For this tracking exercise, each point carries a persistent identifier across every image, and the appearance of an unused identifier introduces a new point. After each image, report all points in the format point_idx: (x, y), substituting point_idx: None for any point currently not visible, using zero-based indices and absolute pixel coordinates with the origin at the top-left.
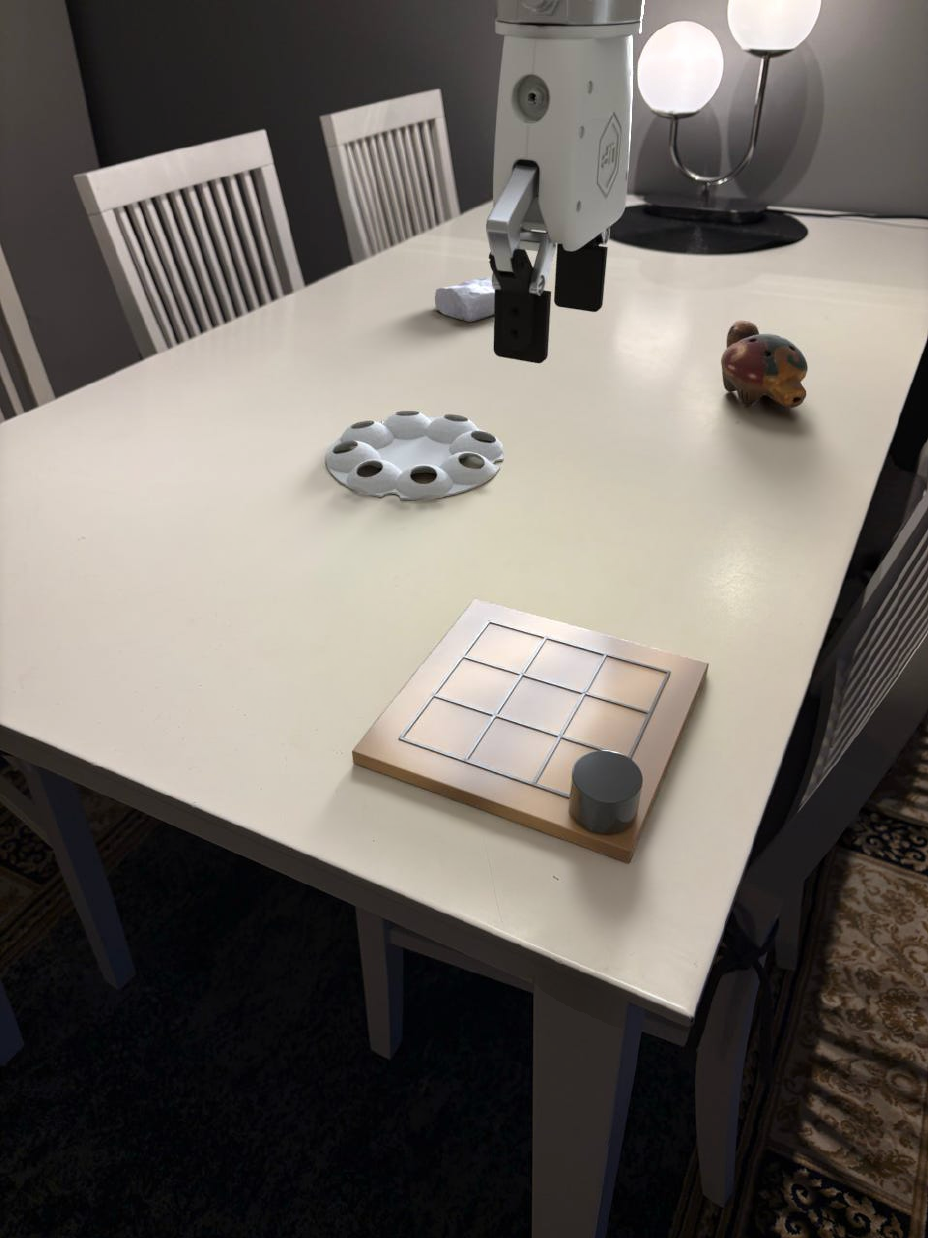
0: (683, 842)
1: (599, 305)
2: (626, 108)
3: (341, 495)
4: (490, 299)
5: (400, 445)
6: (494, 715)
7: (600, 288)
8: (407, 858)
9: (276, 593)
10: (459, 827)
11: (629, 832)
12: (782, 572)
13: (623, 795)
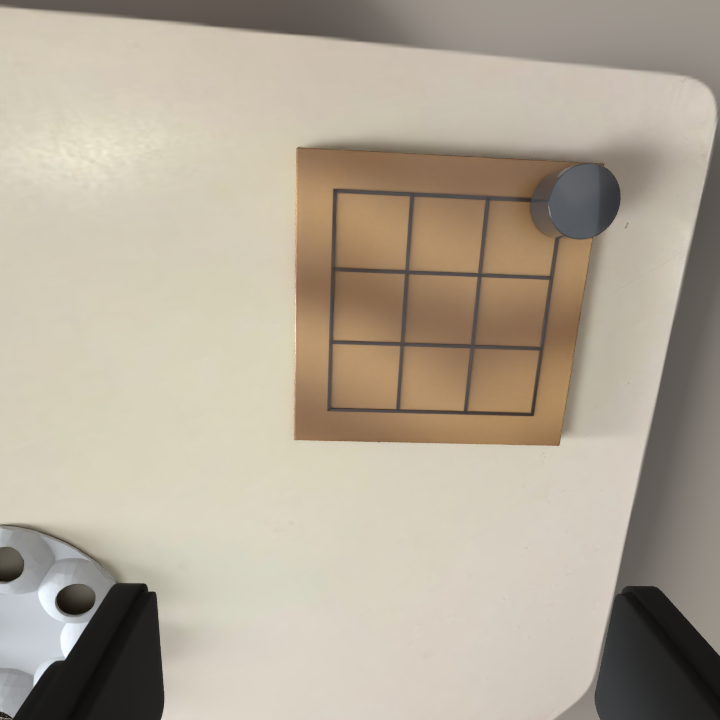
0: (555, 121)
1: (135, 593)
2: None
3: None
4: None
5: (2, 656)
6: (474, 346)
7: (110, 644)
8: (638, 350)
9: (355, 616)
10: (595, 324)
11: None
12: (22, 88)
13: (608, 177)
